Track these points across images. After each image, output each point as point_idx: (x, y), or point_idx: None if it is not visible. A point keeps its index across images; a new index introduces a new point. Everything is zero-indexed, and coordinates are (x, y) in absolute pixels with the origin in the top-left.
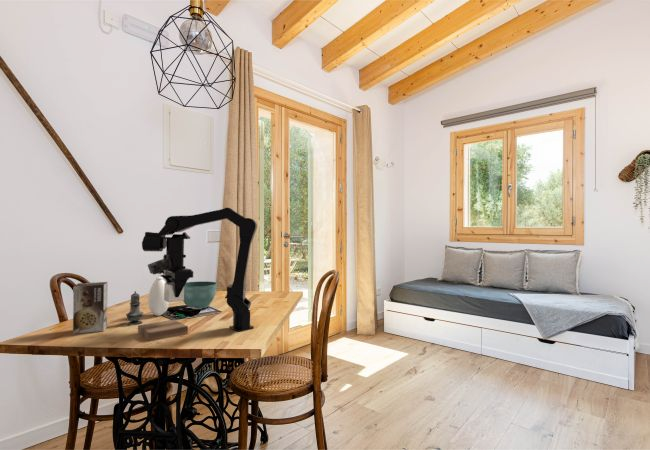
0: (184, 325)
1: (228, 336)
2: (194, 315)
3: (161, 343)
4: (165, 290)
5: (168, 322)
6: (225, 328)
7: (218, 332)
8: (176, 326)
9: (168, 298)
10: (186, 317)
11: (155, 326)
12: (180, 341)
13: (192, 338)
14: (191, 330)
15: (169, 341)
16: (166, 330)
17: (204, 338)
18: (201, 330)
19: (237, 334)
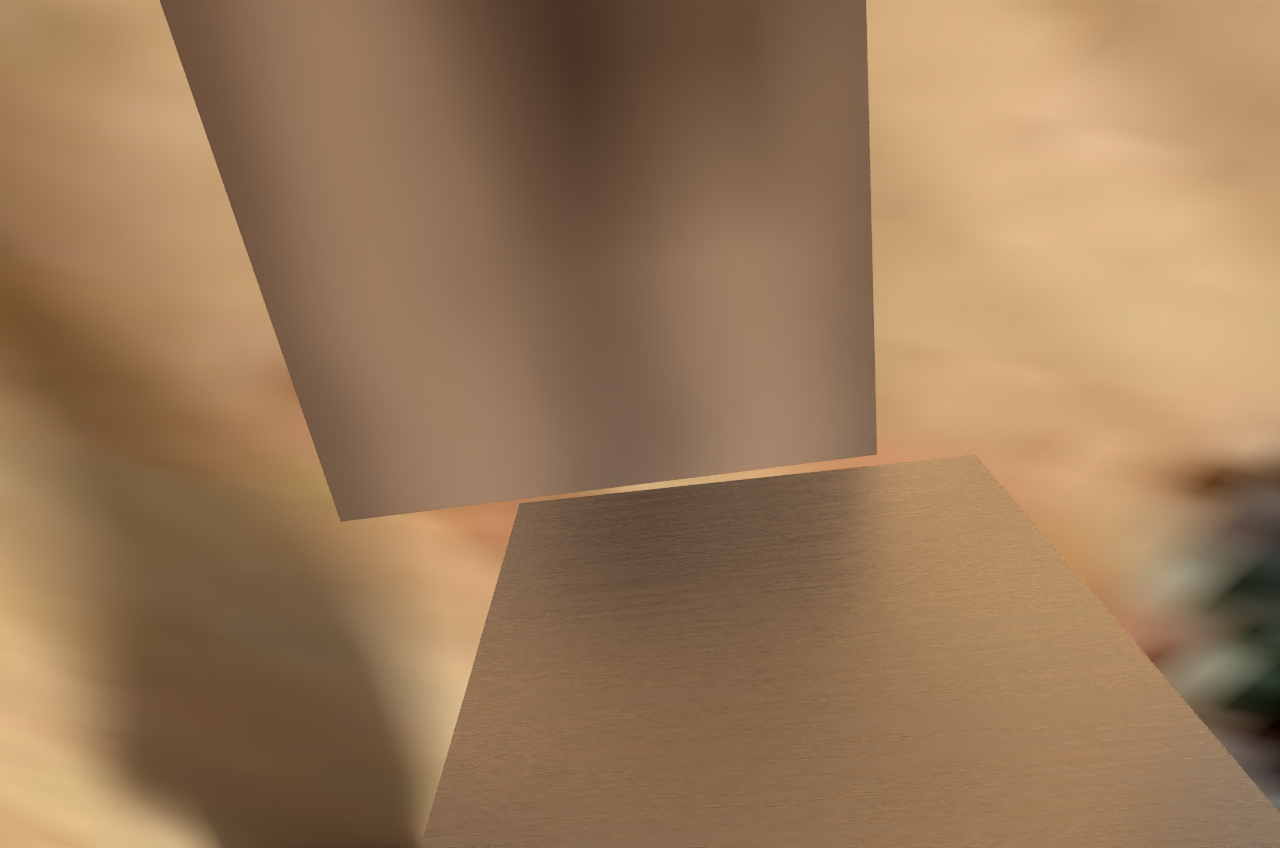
0: (415, 497)
1: (93, 766)
2: (1242, 739)
3: (26, 68)
4: (1004, 713)
5: (739, 341)
6: (417, 825)
7: (288, 738)
8: (411, 391)
9: (577, 562)
10: (1223, 644)
11: (584, 89)
12: (51, 317)
13: (142, 467)
14: None
15: (96, 192)
16: (233, 207)
17: (96, 572)
18: (459, 629)
19: (138, 841)
